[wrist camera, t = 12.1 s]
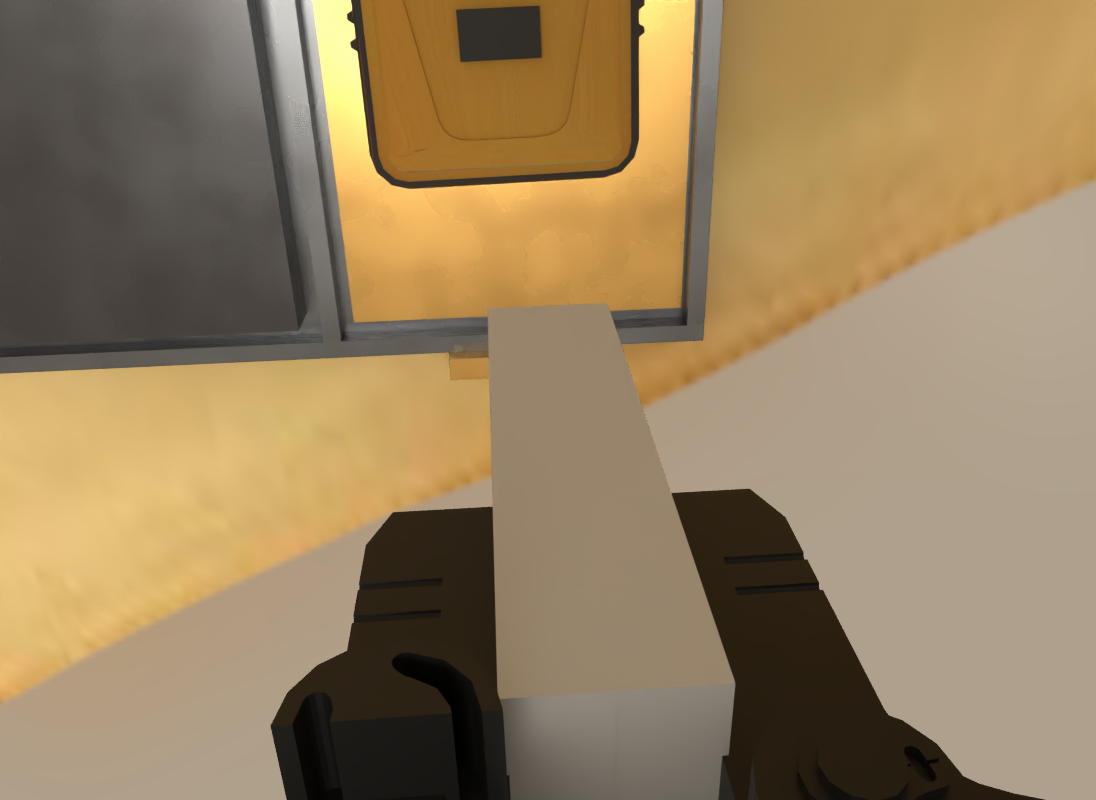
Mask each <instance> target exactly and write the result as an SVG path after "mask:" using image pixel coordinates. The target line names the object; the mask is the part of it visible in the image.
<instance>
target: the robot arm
mask: <svg viewBox="0 0 1096 800" xmlns="http://www.w3.org/2000/svg"><path fill="white" fill-rule="evenodd" d="M488 344H489V382H490V421H491V460H492V499H493V507H481V508H463V509H445V510H427V511H409V512H393V513H392V514H391V515H390V517H389V518H388V519H387V520H386V522H385V523H384V524H383V525H382V526H381V528H380V529H379V530H378V531H377V532H376V534H375V535H374V536H373V537H372V539H371V540H370V541H369V542H368V544H367V545H366V548H365V554H364V560H363V565H362V570H361V576H360V582H359V586H360V589H359V590H358V593H357V598H356V604H355V610H354V623H352V626H351V632H350V638H349V643H348V649H347V651H346V652H344V653H342V654H339V655H338V656H336V657H334V658H331V659H329V660H327V661H325V662H323V663H321V664H319V665H317V666H316V667H315V668H314V669H313V670H312V671H311V672H309V674H307V675H306V676H305V677H304V678H303V679H302V680H301V681H300V682H298V683H297V684H296V685H295V686H294V687H293V688H292V689H291V690H290V691H289V692H288V693H287V695H286V697H285V699H284V700H283V703H282V704H281V706H280V708H279V710H278V712H277V715H276V716H275V718H274V720H273V723H272V724H271V730H272V734H273V738H274V744H275V748H276V753H277V757H278V762H279V766H280V771H281V775H282V780H283V785H284V789H285V794H286V798H287V800H1043V799H1038V798H1034V797H1028V796H1024V795H1019V794H1013V793H1010V792H1006V791H1003V790H1000V789H996V788H993V787H989V786H985V785H982V784H979V783H977V782H975V781H972V780H970V779H968V778H966V777H964V776H962V774H961V773H960V772H959V770H958V769H957V768H956V767H955V766H954V764H953V763H952V762H951V761H950V759H949V758H948V757H947V756H946V754H945V753H944V752H943V751H942V750H941V748H940V747H939V746H938V745H937V744H936V743H935V742H933V741H932V740H930V739H929V738H928V737H926V736H925V735H923V734H922V733H920V732H919V731H917V730H916V729H914V728H913V727H911V726H910V725H908V724H907V723H905V722H904V721H903V720H900V719H897V718H894V717H891V716H889V715H888V714H887V713H886V711H885V710H884V708H883V706H882V704H881V702H880V700H879V698H878V696H877V694H876V693H875V690H874V688H873V687H872V685H871V683H870V681H869V679H868V677H867V675H866V673H865V671H864V669H863V667H862V665H861V663H860V661H859V659H858V657H857V655H856V654H855V652H854V650H853V648H852V646H851V644H850V642H849V640H848V638H847V636H846V634H845V632H844V630H843V629H842V626H841V625H840V623H839V620H838V619H837V617H836V615H835V613H834V611H833V609H832V607H831V605H830V603H829V601H828V599H827V597H826V595H825V593H824V591H823V590H820V589H819V582H818V580H817V578H816V576H815V574H814V572H813V570H812V568H811V566H810V564H809V562H808V560H804V556H803V551H802V549H801V547H800V545H799V543H798V541H797V539H796V537H795V535H794V533H793V531H792V529H791V527H790V525H789V523H788V522H787V520H786V518H785V517H784V516H783V515H782V514H781V513H779V512H778V511H777V510H776V509H774V508H773V507H772V506H771V505H769V504H768V503H767V502H766V501H764V500H763V499H762V498H760V497H759V496H758V495H757V494H755V493H754V492H753V491H752V490H750V489H738V490H737V489H736V490H719V491H701V492H683V493H671V491H670V488H669V486H668V482H667V479H666V477H665V474H664V470H663V467H662V465H661V461H660V458H659V455H658V453H657V450H656V447H655V444H654V441H653V438H652V435H651V432H650V429H649V426H648V423H647V420H646V417H645V414H644V411H643V408H642V405H641V402H640V399H639V396H638V393H637V390H636V387H635V384H634V381H633V378H632V375H631V372H630V370H629V367H628V364H627V361H626V358H625V355H624V352H623V349H622V346H621V343H620V340H619V337H618V334H617V331H616V328H615V325H614V322H613V319H612V316H611V313H610V310H609V307H608V304H607V303H597V304H576V305H554V306H532V307H511V308H489V309H488Z"/></svg>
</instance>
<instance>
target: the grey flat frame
mask: <svg viewBox="0 0 1096 800" xmlns="http://www.w3.org/2000/svg"><path fill="white" fill-rule="evenodd" d="M351 10H352V4H351V0H0V374H1V373H22V372H43V371H64V370H86V369H107V368H128V367H149V366H170V365H191V364H213V363H234V362H255V361H276V360H297V359H318V358H339V357H361V356H382V355H403V354H424V353H445V352H450V353H449V365H450V378H451V380H466V379H486V378H489V344H488V309H489V308H511V307H532V306H554V305H576V304H597V303H607V304H608V307H609V310H610V313H611V316H612V319H613V322H614V325H615V328H616V331H617V334H618V337H619V340H620V343H621V344H636V343H657V342H678V341H699V340H703V334H704V317H705V300H706V283H707V266H708V249H709V233H710V216H711V199H712V182H713V165H714V148H715V131H716V114H717V97H718V80H719V63H720V46H721V30H722V13H723V0H645V5H644V6H643V7H642V8H641V9H639V24H640V25H642V26H644V27H645V33H644V34H642V35H641V36H640V37H639V142H638V146H637V150H636V154H635V157H634V159H633V160H632V161H631V162H630V163H629V164H628V165H627V166H626V167H625V168H624V170H623V171H622V172H619V173H616V174H614V175H611V176H608V177H605V178H590V179H573V180H557V181H540V182H523V183H506V184H489V185H471V186H454V187H437V188H420V189H407V188H402V187H398V186H393V185H391V184H390V183H389V182H387V181H386V180H385V179H384V178H383V177H381V176H380V175H379V174H378V173H377V172H376V169H375V167H374V164H373V162H372V159H371V157H370V153H369V145H368V137H367V128H366V120H365V112H364V103H363V95H362V87H361V79H360V70H359V62H358V54H357V51H355V50H354V49H352V48H351V46H350V42H351V41H352V40H353V39H355V38H356V37H355V29H354V24H353V23H351V22H350V21H348V20H347V13H349V12H350V11H351Z"/></svg>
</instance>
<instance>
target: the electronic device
mask: <svg viewBox="0 0 1096 800" xmlns="http://www.w3.org/2000/svg"><path fill="white" fill-rule="evenodd" d="M351 4H352V10H351V11H350V12H349V13H347V20H348V21H350V22H351V23H353V24H354V29H355V37H356V38H355V39H353V40H352V41H351V42H350V46H351V48H352V49H354V50H355V51H357V54H358V62H359V70H360V79H361V87H362V95H363V103H364V112H365V120H366V128H367V137H368V145H369V153H370V157H371V159H372V162H373V164H374V167H375V169H376V172H377V173H378V174H379V175H380V176H381V177H383V178H384V179H385V180H386V181H387V182H389V183H390V184H391V185H393V186H398V187H402V188H407V189H420V188H437V187H454V186H471V185H489V184H506V183H523V182H540V181H557V180H573V179H590V178H605V177H608V176H611V175H614V174H616V173H619V172H622V171H623V170H624V168H625V167H626V166H627V165H628V164H629V163H630V162H631V161H632V160H633V159H634V157H635V154H636V150H637V146H638V142H639V37H640V36H641V35H642V34H644V33H645V27H644V26H642V25H640V24H639V9H641V8H642V7H643V6H644V5H645V0H351Z"/></svg>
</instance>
